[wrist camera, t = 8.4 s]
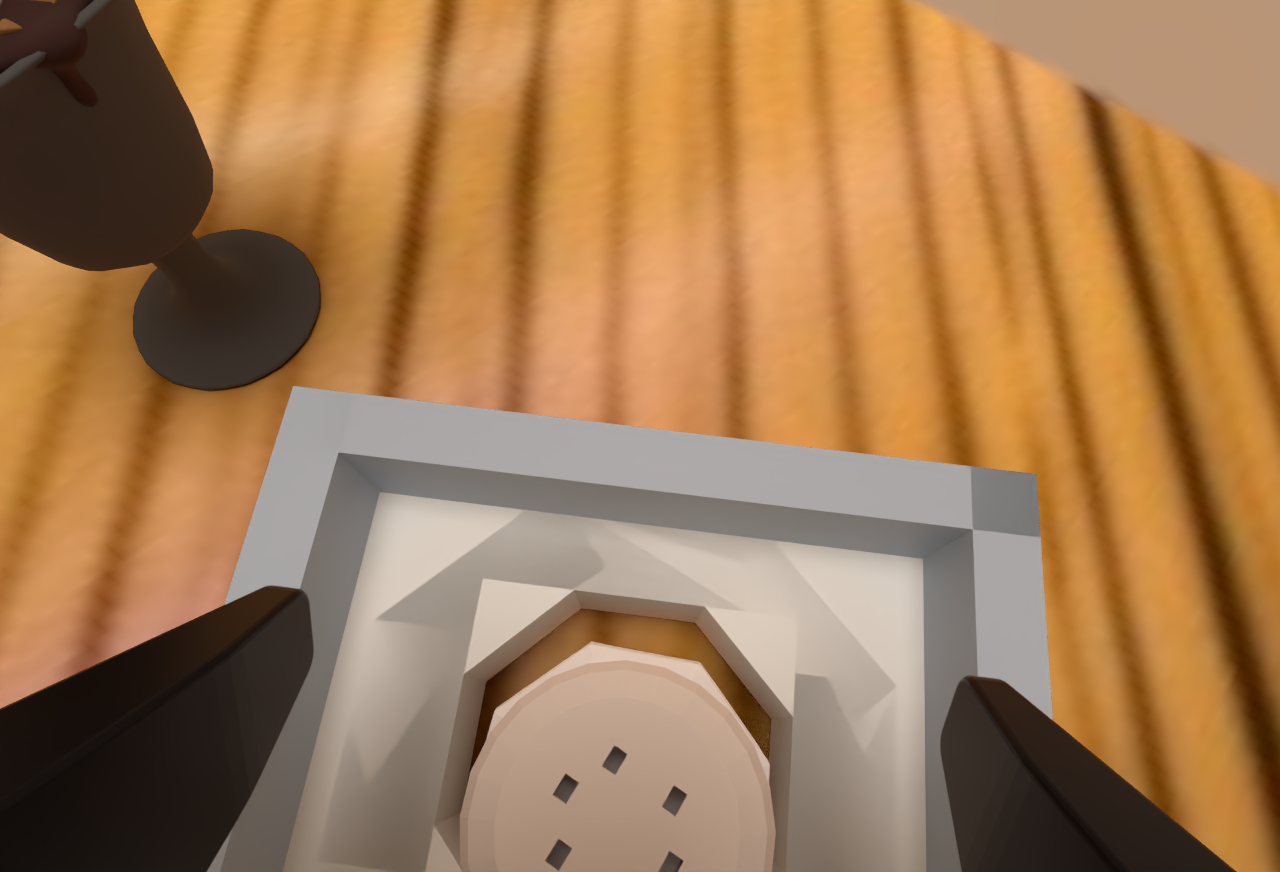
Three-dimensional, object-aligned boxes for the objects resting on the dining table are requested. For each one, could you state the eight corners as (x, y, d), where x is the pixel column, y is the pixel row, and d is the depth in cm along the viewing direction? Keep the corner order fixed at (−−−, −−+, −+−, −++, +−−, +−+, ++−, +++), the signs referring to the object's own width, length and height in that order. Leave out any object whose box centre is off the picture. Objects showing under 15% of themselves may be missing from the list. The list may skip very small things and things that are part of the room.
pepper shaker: (448, 809, 17) (155, 940, 6) (590, 595, 18) (542, 422, 8) (661, 969, 16) (730, 1438, 5) (790, 728, 17) (1034, 726, 7)
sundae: (231, 471, 19) (-834, -228, 5) (50, 335, 21) (-1187, -514, 7) (405, 284, 21) (-31, -581, 7) (230, 172, 23) (-424, -746, 9)
